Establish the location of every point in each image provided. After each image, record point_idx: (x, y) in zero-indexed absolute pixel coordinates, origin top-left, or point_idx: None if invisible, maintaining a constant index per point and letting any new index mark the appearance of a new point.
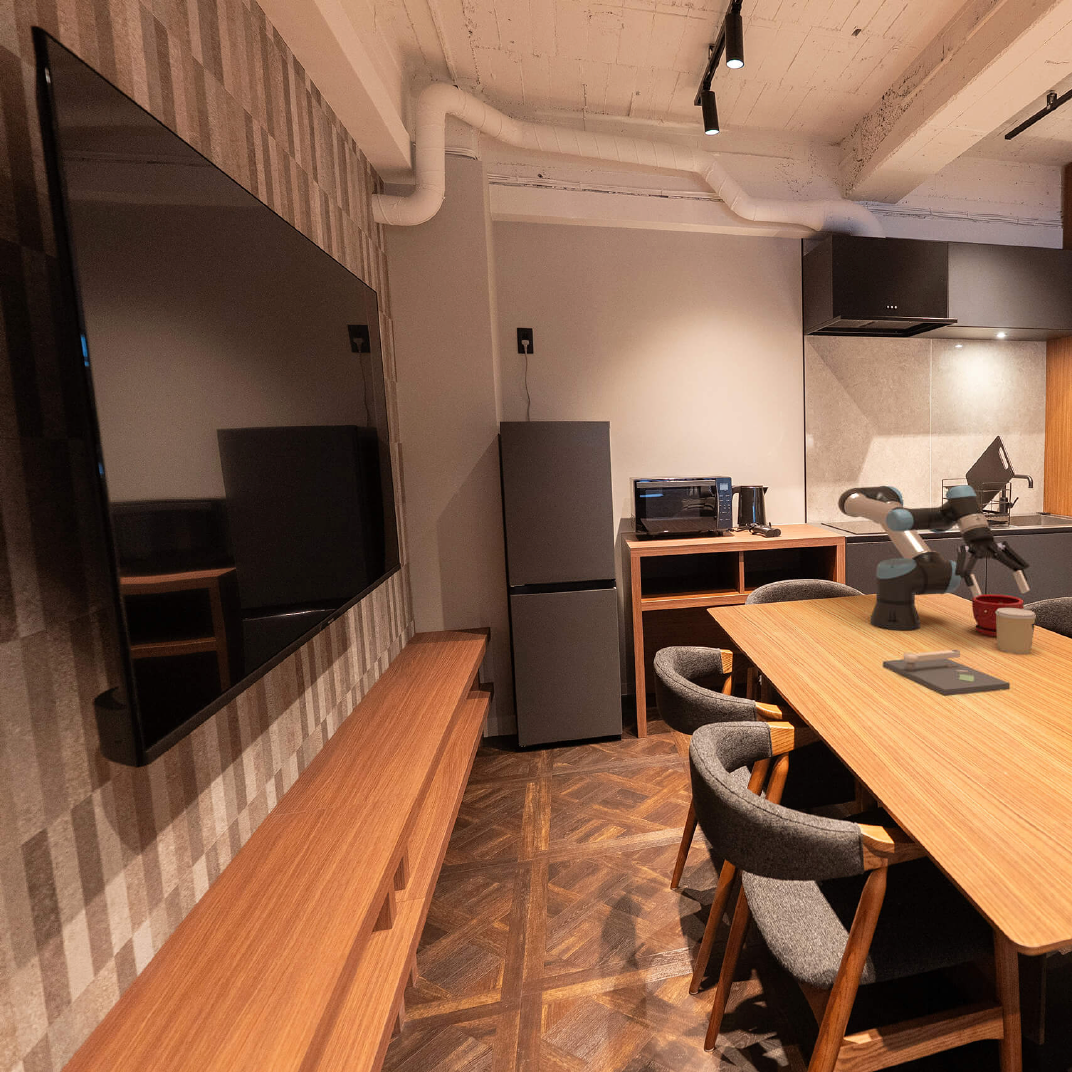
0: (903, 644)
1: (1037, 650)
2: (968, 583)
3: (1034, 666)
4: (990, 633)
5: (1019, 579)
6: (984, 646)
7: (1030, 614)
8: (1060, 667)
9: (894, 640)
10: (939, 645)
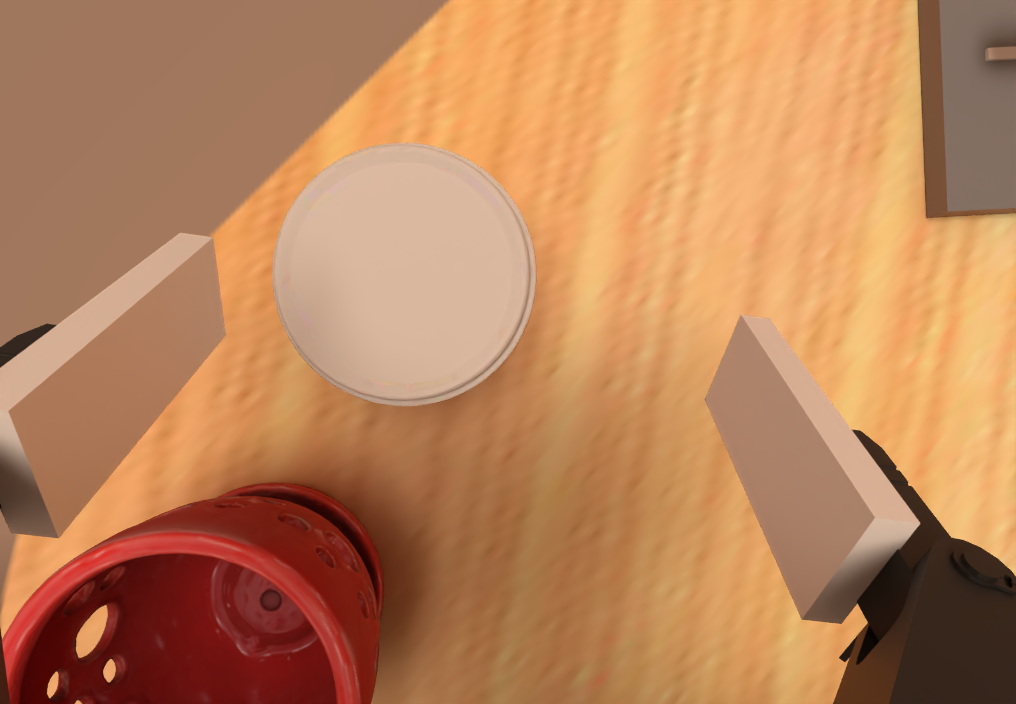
0: None
1: None
2: (878, 460)
3: (556, 50)
4: (367, 534)
5: (127, 371)
6: (534, 382)
7: (363, 168)
8: (452, 13)
9: None
10: None
